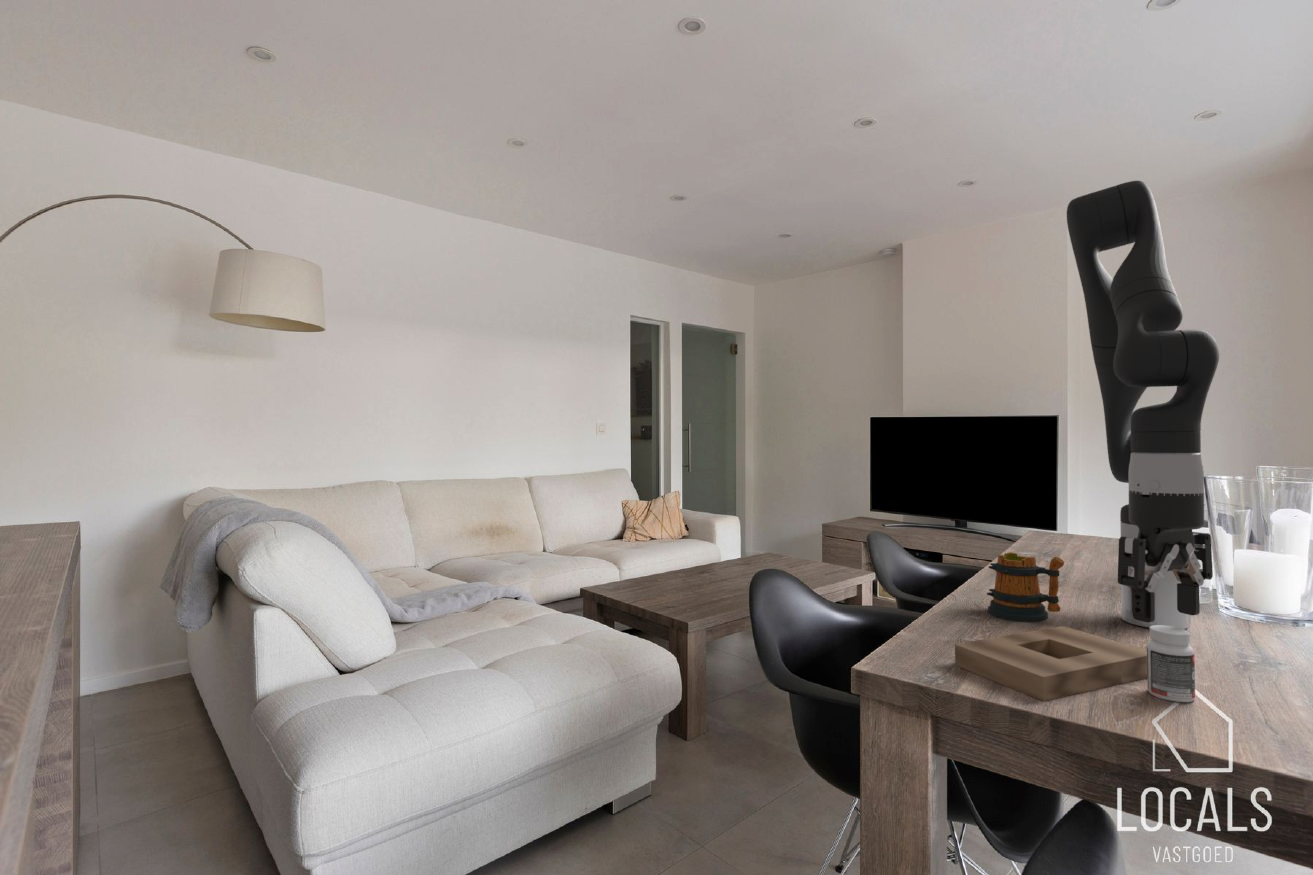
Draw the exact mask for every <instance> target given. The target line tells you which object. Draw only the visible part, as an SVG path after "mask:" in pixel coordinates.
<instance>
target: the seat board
mask: <svg viewBox="0 0 1313 875" xmlns="http://www.w3.org/2000/svg"><path fill="white" fill-rule="evenodd" d="M954 662H955V663H954V666H957V667H959V668H962V669H964V670H966V671H970V673H971V672H972V673H974V674H976V675H979V676H981V677H983V678H986V679H989V680H991V681H993V682H996V683H999V684H1001V685H1003V686H1006V687H1008V688H1010V689H1013V690H1016V691H1018V692H1020V693H1022V694H1026V695H1027V696H1031V697H1033V698H1035V699H1038V700H1039V701H1042V702H1045V701H1049V700H1051V701H1052V700H1053V699H1054V700H1055V699H1060V698H1065V697H1068V696H1072V695H1073V696H1074V695H1078V694H1081V693H1082V694H1083V693H1086V692H1091V691H1094V690H1099V689H1100V690H1101V689H1103V688H1109V687H1114V686H1117V685H1122V684H1126V683H1131V682H1135V681H1139V680H1144V679H1147V678H1148V677H1147V648H1141V647H1138V646H1135V645H1131V644H1128V643H1124V642H1120V641H1118V640H1113V639H1110V638H1107V637H1103V636H1099V635H1096V634H1092V633H1088V632H1085V631H1081V630H1077V629H1075V628H1071V627H1067V626H1064V625H1059V626H1057V627H1056V626H1054V627H1049V628H1044V629H1038V630H1033V631H1032V630H1031V631H1025V632H1020V633H1015V634H1008V635H1002V636H997V637H991V638H985V639H977V640H973V641H966V642H960V643H956V644H954Z"/></svg>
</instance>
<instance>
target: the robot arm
mask: <svg viewBox="0 0 1313 875" xmlns="http://www.w3.org/2000/svg"><path fill="white" fill-rule="evenodd" d="M1066 223H1067V230H1068V234H1069V240H1070V243H1071V247H1072V250H1073V254H1074V259H1075V264H1076V267H1077V271H1078V275H1079V280H1080V284H1081V288H1082V292H1083V298H1084V302H1085V303H1084V304H1085V309H1086V315H1087V324H1088V330H1089V331H1088V332H1089V338H1090V344H1091V350H1092V357H1093V361H1094V366H1095V369H1096V370H1095V371H1096V375H1097V379H1098V384H1099V389H1100V394H1101V399H1102V405H1103V412H1104V413H1103V414H1104V423H1105V436H1106V437H1105V438H1106V447H1107V455H1108V457H1107V458H1108V463H1109V468H1110V472H1111V474H1112V476H1113V478H1114V479H1115V480H1116V481H1118V482H1120V483H1126V484H1128V504H1125V505H1123V506H1122V507H1121V508H1120V513H1119V514H1120V516H1119V517H1120V524H1119V525H1120V536H1119V538H1118V554H1117V555H1118V558H1117V583H1118V584H1119V585H1121V588H1120V590H1121V597H1120V598H1121V620H1123V621H1125V622H1126V623H1129V624H1130V625H1131V624H1132V625H1135V626H1140V627H1143V628H1148V629H1150V626H1153V625H1166V626H1173V627H1178V628H1182V629H1185V630H1187V629H1188V628H1189V625H1190V624H1191V622H1192V621H1191V616H1198V615H1199V614H1200V609H1201V608H1200V604H1201V603H1200V597H1201V596H1200V587H1201V586H1203V584H1204V583H1205V580H1208V581H1210V580H1212V578H1213V555H1212V554H1213V552H1212V536H1211V534H1210V533H1209V532H1200V531H1193V530H1199V529H1202V528H1203V527H1204V526H1205V483H1204V482H1205V481H1204V480H1205V478H1204V477H1205V474H1204V472H1205V471H1204V465H1203V460H1202V454H1201V453H1202V451H1201V450H1202V449H1201V448H1202V447H1201V444H1202V442H1201V441H1202V440H1201V436H1202V434H1201V431H1202V430H1201V429H1202V417H1203V414H1204V413H1203V412H1204V407H1205V404H1206V400H1207V397H1208V393H1209V390H1210V388H1211V384H1212V382H1213V379H1214V377H1215V374H1216V372H1217V368H1218V365H1219V361H1220V348H1219V345H1218V342H1217V341H1216V339H1215V338H1214V336H1213V335H1212V334H1210V333H1209V332H1207V331H1206V330H1203V329H1178V328H1179V327H1180V325H1181V324H1182V321H1183V318H1184V314H1183V313H1184V312H1183V308H1182V307H1183V306H1182V304H1181V302H1180V300H1179V296H1178V295H1177V292H1176V289H1175V286H1174V285H1173V282H1172V278H1171V276H1170V273H1169V269H1168V265H1167V257H1166V251H1165V244H1164V238H1163V232H1162V228H1161V221H1160V218H1159V213H1158V209H1157V204H1156V201H1155V198H1154V196H1153V192H1152V190H1151V188H1150V187H1149V185H1148V184H1147V183H1146V182H1144V181H1142V180H1131V181H1126V182H1123V183H1120V184H1117V185H1113V186H1110V187H1106V188H1104V189H1101V190H1097V191H1094V192H1090V193H1087V194H1083V195H1081V196H1078V197H1076V198H1073V199H1071V200H1070V202H1069V203H1068V204H1067V207H1066ZM1130 244H1131V245H1132V244H1133V245H1132V248H1131V249H1130V251H1129V253H1128V254H1127V255H1126V257H1125V259H1124V260H1123V262H1122V263H1121V264H1120V265H1119V268H1118V269H1117V270H1116V272H1115V274H1114V276H1113V277H1112V276H1111V274H1109V272H1108V271H1107V270H1106V269H1105V267H1104V266H1103V264H1102V262H1101V261H1100V258H1099V253H1101V252H1105V251H1109V250H1112V249H1116V248H1120V247H1123V246H1126V245H1130ZM1177 329H1178V330H1177ZM1155 387H1156V388H1157V387H1158V388H1159V387H1160V388H1161V387H1162V388H1163V387H1176V389H1175V390H1176V391H1175V393H1174V395H1173V396H1172V397H1171V399H1169V400H1168V401H1167V402H1164V403H1160V404H1154V405H1148V406H1144V407H1140V408H1137V409H1135V408H1136V406H1137V405H1138V402H1139V400H1141V397H1142V395H1143V394H1144V392H1145V391H1146V390H1147V388H1155ZM1134 409H1135V410H1134ZM1200 561H1201V563H1200ZM1201 565H1202V566H1201Z"/></svg>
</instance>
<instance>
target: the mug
mask: <svg viewBox="0 0 1313 875" xmlns="http://www.w3.org/2000/svg"><path fill="white" fill-rule="evenodd" d="M1064 564H1065V561H1064V560H1063V559H1062V558H1060V557H1059V556H1054V557H1052V559H1051V560H1050V562H1049V568H1046V567H1042V566H1038V565H1037V561H1036V556H1029V557H1028V556H1022V555H1018V553H1016V552H1011V551H1010V552H1005V553H1004V555H1003V554H1002V555H1001V554H999V555H997V562H996V563H995V562H994V563H992V562H991V563H990V565H988V569H991V570H993V571H994V572H995V581H994V582H995V583H994V588H989V589H988V591H989V592H986V595H987V596H990V597H992V598H993V599H991V600H990V602H989V604H990V605H988V606H987V613H988V615H990V616H992V617H995V618H998V619H1002V620H1006V621H1011V622H1021V623H1040V622H1046V621H1047V620H1048V619H1049V613H1048V612H1050V613H1054V612H1055V613H1058V612H1060V611H1061V606H1060V605H1059V602H1060V601H1059V596H1058V591H1059V577H1060V570H1059V569H1061V568H1063V567H1064ZM1041 574H1045V575H1047V576H1049V581H1048V583H1049V585H1048V594H1043V593H1041V589H1040V583H1039V582H1040V581H1039V576H1038V575H1041ZM1044 602H1045V603H1046V602H1047V610H1046V606H1045V604H1043V603H1044Z"/></svg>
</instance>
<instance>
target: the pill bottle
mask: <svg viewBox="0 0 1313 875" xmlns="http://www.w3.org/2000/svg"><path fill="white" fill-rule="evenodd" d="M1148 636H1149V638H1150V640H1149V641H1148V642H1147V644H1146V650H1147V677H1148V678H1146V679H1147V681H1146V682H1147V692H1148V693H1149V694H1151V696H1154V697H1155V698H1159V699H1161V700H1164V701H1170V702H1176V703H1177V702H1178V703H1191V702H1194V701H1195V699H1196V673H1195V671H1196V670H1195V669H1196V667H1195V665H1196V664H1195V659H1196V658H1195V650H1194V648H1193V647H1192V646H1191V645H1190V644H1191V633H1190V631H1189V630H1187V629H1182V628H1178V627H1173V626H1166V625H1153V626H1150V628H1149V634H1148Z"/></svg>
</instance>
